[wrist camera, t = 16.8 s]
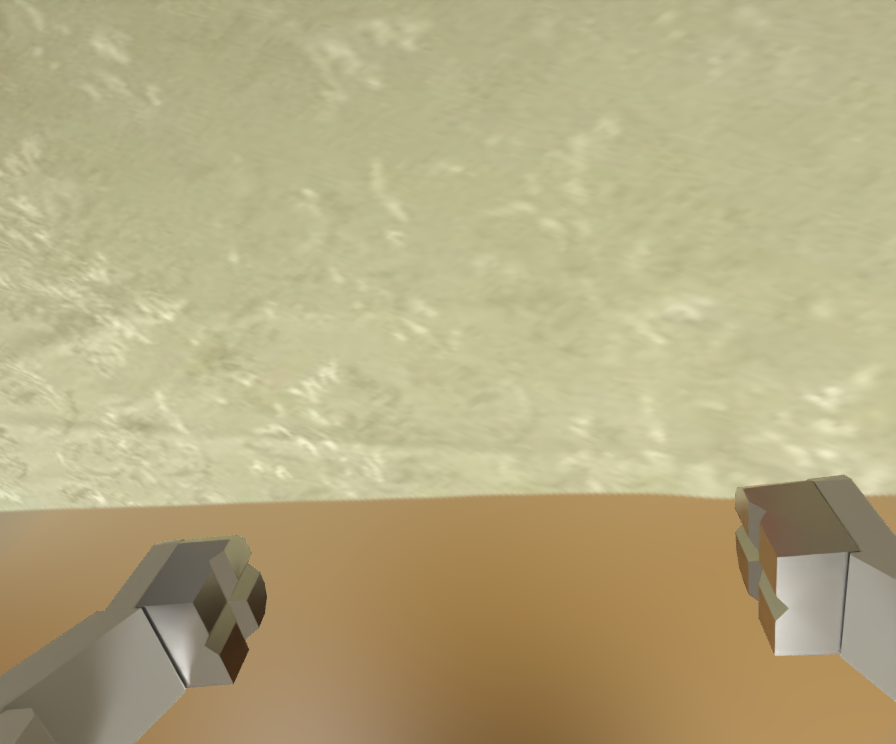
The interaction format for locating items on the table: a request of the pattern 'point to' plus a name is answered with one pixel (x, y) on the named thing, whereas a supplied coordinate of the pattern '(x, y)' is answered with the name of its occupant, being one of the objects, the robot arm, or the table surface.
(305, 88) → the table surface
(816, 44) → the table surface
